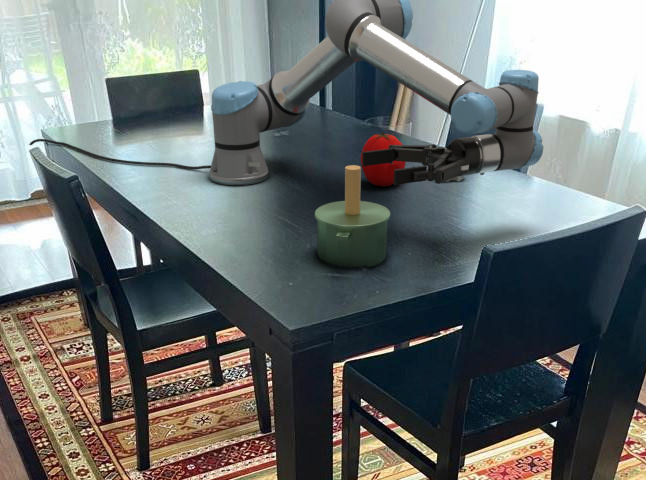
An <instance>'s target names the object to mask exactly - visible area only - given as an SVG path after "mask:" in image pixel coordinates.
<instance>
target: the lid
mask: <svg viewBox="0 0 646 480" xmlns="http://www.w3.org/2000/svg"><path fill="white" fill-rule="evenodd" d="M361 181H362V166H360V165H357V164H352V165H346V166H345V167H344V200H340V201H333V202H329V203H326V204H323V205H320V206H319V207H317V208H316V210H314V218H315V220H316V221H317V220H318V221H319V222H321V223H323V224H325V225H328V226H332V227H337V228H346V229H360V228H369V227H374V226H378V225H381V224H383V223H385V222H387V223H388V221H389V220H390V218H391V211H390V210H389V208H387V207H386V206H384V205H382V204H379V203H375V202H371V201H365V200H361V192H362V191H361V189H362V188H361V185H362V183H361Z"/></svg>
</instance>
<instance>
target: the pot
mask: <svg viewBox="0 0 646 480" xmlns="http://www.w3.org/2000/svg"><path fill="white" fill-rule="evenodd" d="M316 225H317V227H316V231H317V234H316V235H317V237H316V239H317V240H316V241H317V255H318V258H319V259H321V260H322V261H324V262H325V263H328V264H331V265H334V266H338V267H349V268H353V267H355V268H356V267H367V269H369V268H372V267H376V266H377V265H380V264H382V263H383V262H384V261H385V260H386V257H387V244H388V243H387V242H388V221H387V222H385V223H383V224H381V225H378V226H374V227H369V228H360V229H346V228H337V227H332V226H328V225H325V224H323V223H321V222H319V221H318V220H317V219H316Z"/></svg>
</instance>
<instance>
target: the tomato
mask: <svg viewBox="0 0 646 480" xmlns="http://www.w3.org/2000/svg"><path fill="white" fill-rule="evenodd" d="M394 134H395V132H393V133H385V131H383V132H381V134H380V133H375V134H373V135H371V137H369V138H368V139H367V141H366V142H365V143H364V146H363V147H362V152H361V154H360V164H361V170H362V172H363V174H364V176H365V178H366V179H367V181H368V182H369V183H371V184H372V185H374V186H377V187H390V186H392V185H394V170H395V169H403V168H406V163H407V162H404V161H393V163H392V164H390V163H385V164H377V165H370V166H363V165H362V153H363V152H366V151H375V150H383V149H389V145H403V143H402V142H401V141H400V140H399V139H398V138H397V137H396V136H395V135H394Z"/></svg>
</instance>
